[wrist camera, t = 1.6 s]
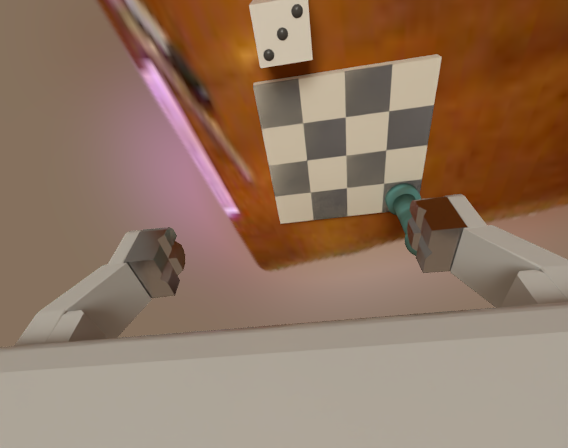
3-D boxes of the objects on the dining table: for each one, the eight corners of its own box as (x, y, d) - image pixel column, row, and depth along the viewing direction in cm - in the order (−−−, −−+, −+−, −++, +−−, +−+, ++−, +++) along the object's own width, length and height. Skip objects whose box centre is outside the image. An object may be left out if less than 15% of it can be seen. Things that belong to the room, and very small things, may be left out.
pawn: (419, 181, 42) (452, 236, 34) (415, 207, 45) (445, 263, 37) (386, 185, 43) (411, 240, 34) (384, 210, 46) (406, 267, 37)
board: (437, 54, 34) (441, 57, 33) (414, 203, 46) (417, 208, 45) (253, 82, 35) (253, 85, 34) (280, 218, 48) (280, 223, 47)
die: (304, -10, 30) (307, -5, 26) (309, 48, 33) (312, 60, 29) (253, -1, 31) (248, 5, 27) (262, 55, 34) (260, 68, 30)
